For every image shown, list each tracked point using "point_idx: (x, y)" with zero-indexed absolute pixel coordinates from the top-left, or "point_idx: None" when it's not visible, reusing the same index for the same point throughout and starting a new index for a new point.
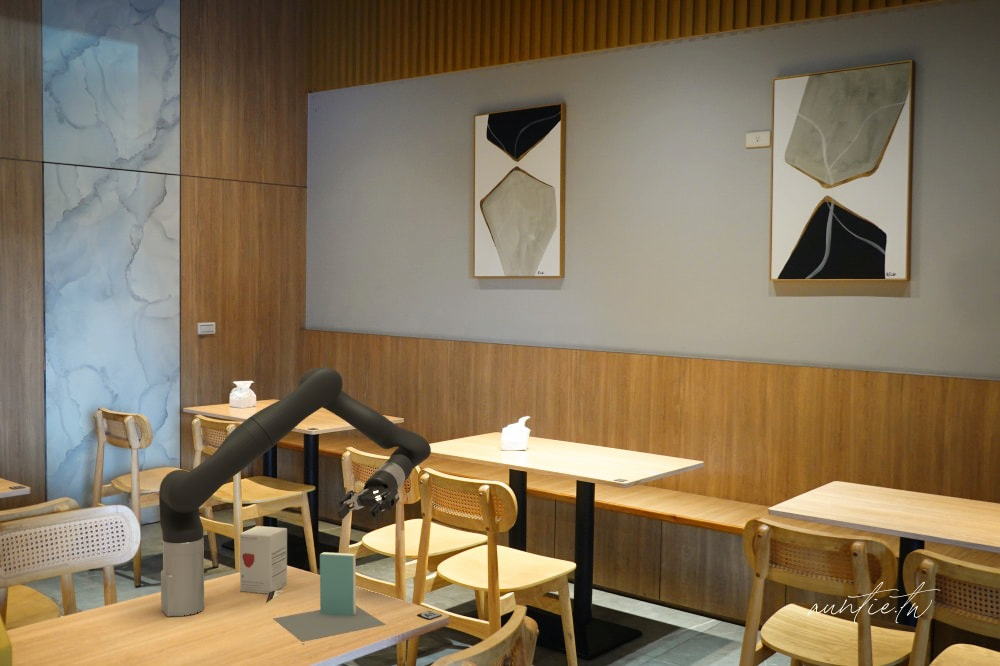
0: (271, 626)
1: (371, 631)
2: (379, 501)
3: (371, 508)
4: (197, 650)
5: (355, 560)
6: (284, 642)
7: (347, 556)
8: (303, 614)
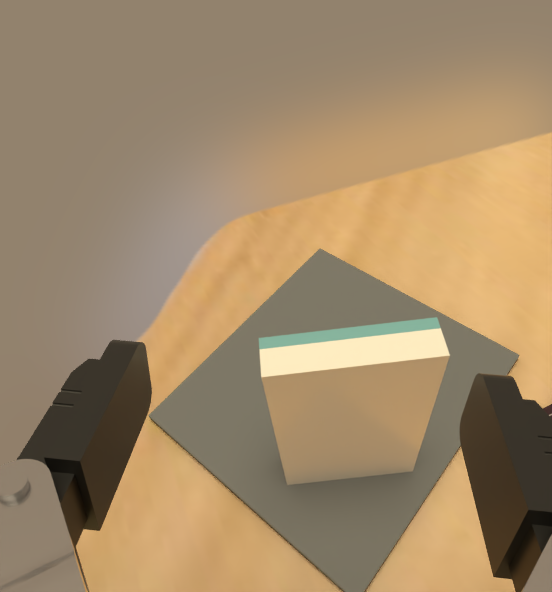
0: (485, 324)
1: (184, 376)
2: (15, 471)
3: (120, 370)
4: (518, 170)
5: (265, 394)
6: (369, 251)
7: (285, 336)
8: (455, 416)
